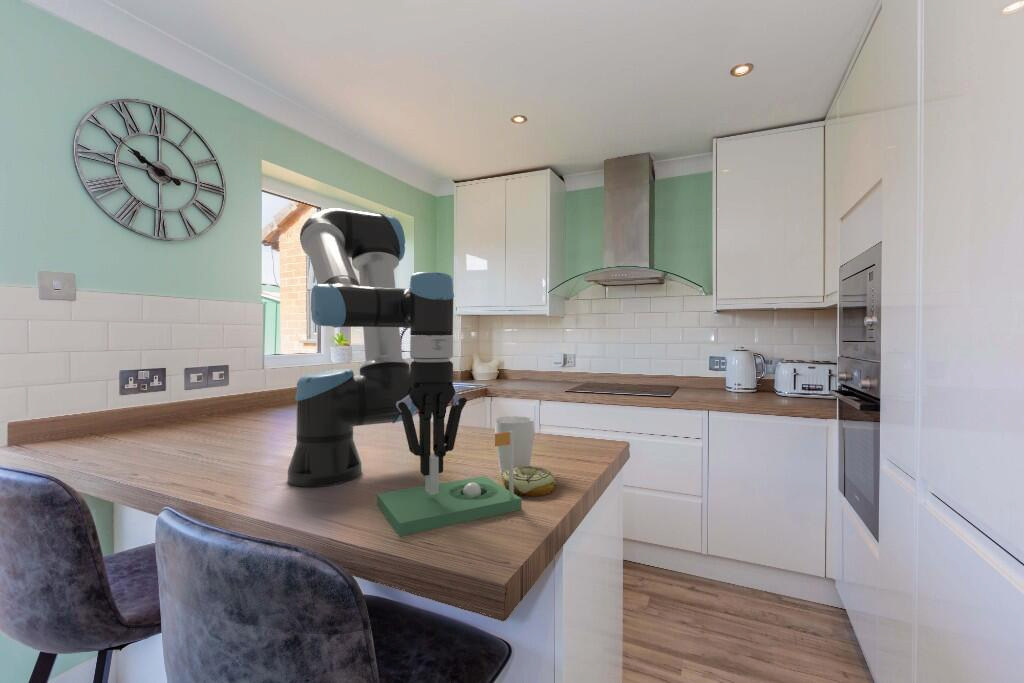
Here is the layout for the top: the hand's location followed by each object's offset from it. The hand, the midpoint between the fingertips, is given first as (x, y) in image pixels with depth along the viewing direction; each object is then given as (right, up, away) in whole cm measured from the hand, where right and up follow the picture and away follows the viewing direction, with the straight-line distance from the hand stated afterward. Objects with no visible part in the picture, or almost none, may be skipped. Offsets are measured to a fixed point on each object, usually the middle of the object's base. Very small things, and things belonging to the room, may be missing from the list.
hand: (431, 491), depth 81 cm
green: (+3, -3, +1) cm, 4 cm away
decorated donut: (+18, -4, +11) cm, 21 cm away
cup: (+15, -3, +22) cm, 27 cm away
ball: (+7, -1, +4) cm, 8 cm away
